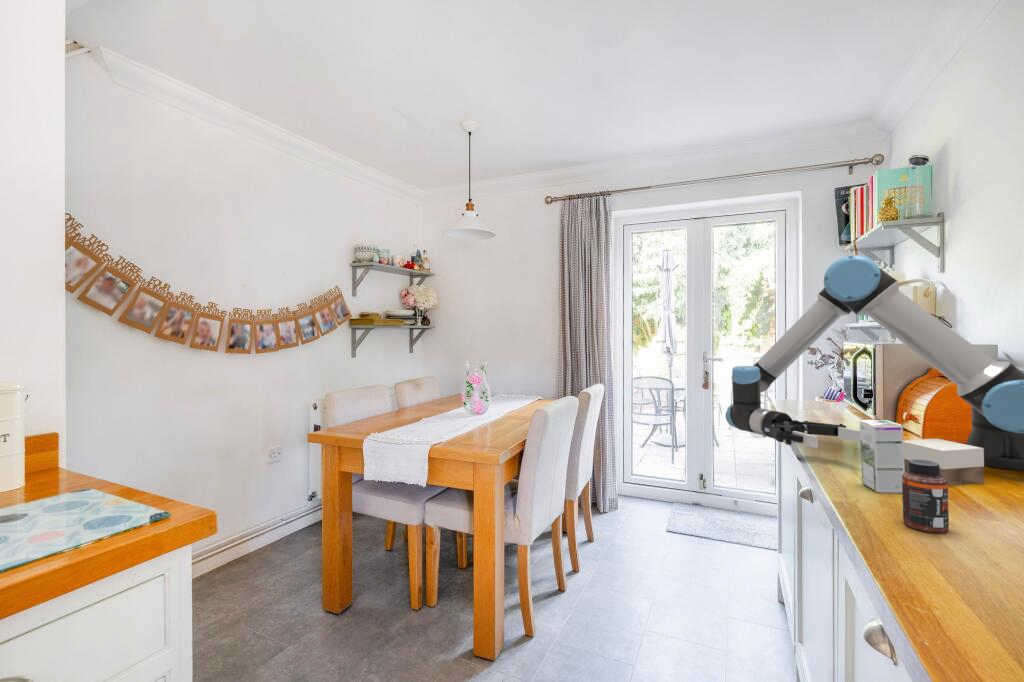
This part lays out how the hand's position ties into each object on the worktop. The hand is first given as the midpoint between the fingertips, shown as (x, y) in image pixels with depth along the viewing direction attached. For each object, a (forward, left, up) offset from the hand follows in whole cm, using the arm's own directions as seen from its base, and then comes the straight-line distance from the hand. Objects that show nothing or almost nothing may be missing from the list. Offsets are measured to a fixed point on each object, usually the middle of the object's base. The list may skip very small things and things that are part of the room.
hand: (840, 439), depth 109 cm
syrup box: (-2, +9, -9) cm, 13 cm away
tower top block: (-20, +5, -5) cm, 21 cm away
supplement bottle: (+7, +28, -9) cm, 31 cm away
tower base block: (-19, +5, -9) cm, 22 cm away
